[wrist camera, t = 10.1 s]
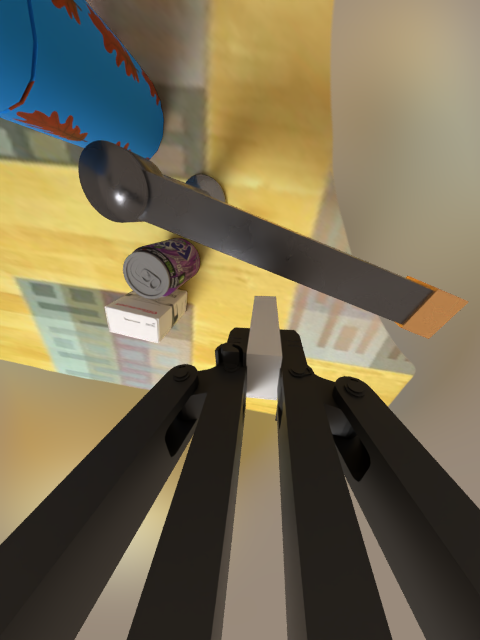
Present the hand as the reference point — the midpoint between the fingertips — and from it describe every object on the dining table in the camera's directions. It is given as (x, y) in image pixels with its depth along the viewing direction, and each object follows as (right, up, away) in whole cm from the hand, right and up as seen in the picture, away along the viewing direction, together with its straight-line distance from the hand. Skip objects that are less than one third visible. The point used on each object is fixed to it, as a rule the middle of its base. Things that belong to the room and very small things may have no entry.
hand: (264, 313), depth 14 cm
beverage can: (-12, +11, +21) cm, 27 cm away
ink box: (-17, +4, +25) cm, 31 cm away
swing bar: (+1, +6, +2) cm, 6 cm away
